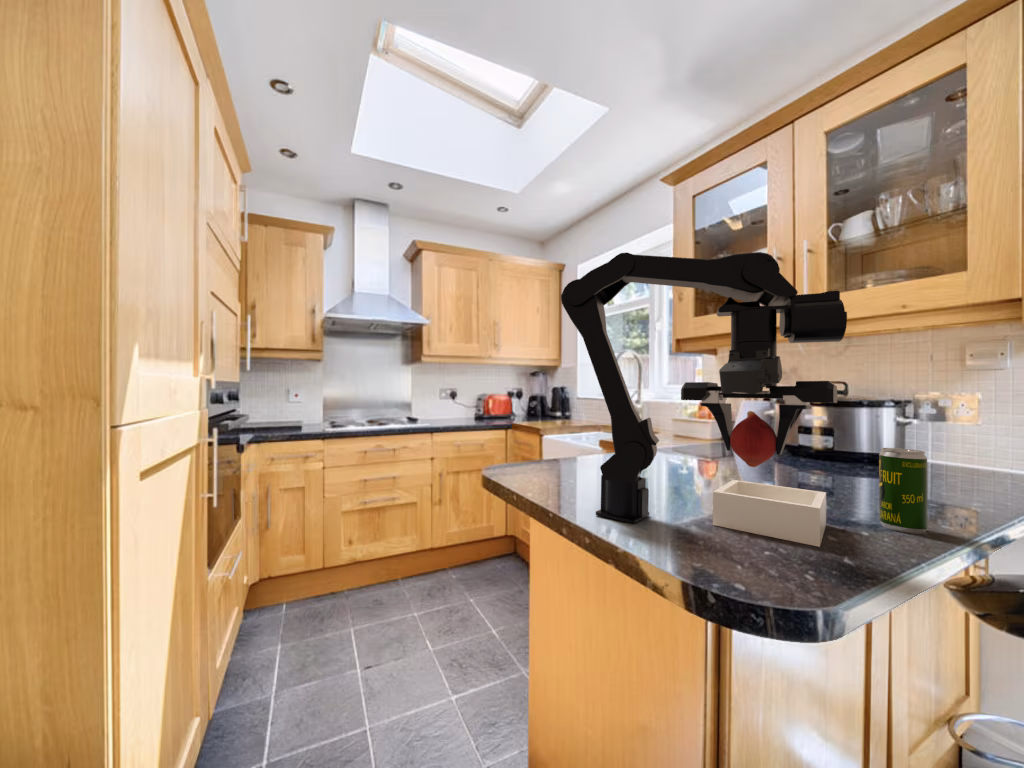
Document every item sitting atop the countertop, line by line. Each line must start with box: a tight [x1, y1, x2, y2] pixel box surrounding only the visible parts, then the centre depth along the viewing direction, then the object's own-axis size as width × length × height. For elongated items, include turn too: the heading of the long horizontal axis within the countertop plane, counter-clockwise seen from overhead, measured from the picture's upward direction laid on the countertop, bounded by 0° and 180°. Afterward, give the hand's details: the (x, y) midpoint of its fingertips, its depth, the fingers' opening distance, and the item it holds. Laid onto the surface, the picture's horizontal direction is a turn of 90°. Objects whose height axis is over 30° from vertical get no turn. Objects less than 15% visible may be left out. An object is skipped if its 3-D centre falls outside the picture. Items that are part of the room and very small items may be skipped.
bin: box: [712, 479, 827, 548], centre depth 63 cm, size 13×13×5 cm
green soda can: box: [878, 447, 929, 535], centre depth 63 cm, size 5×5×12 cm
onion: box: [730, 410, 777, 468], centre depth 59 cm, size 6×6×8 cm
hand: (753, 452), depth 59 cm, fingers closed on onion, 6 cm apart
